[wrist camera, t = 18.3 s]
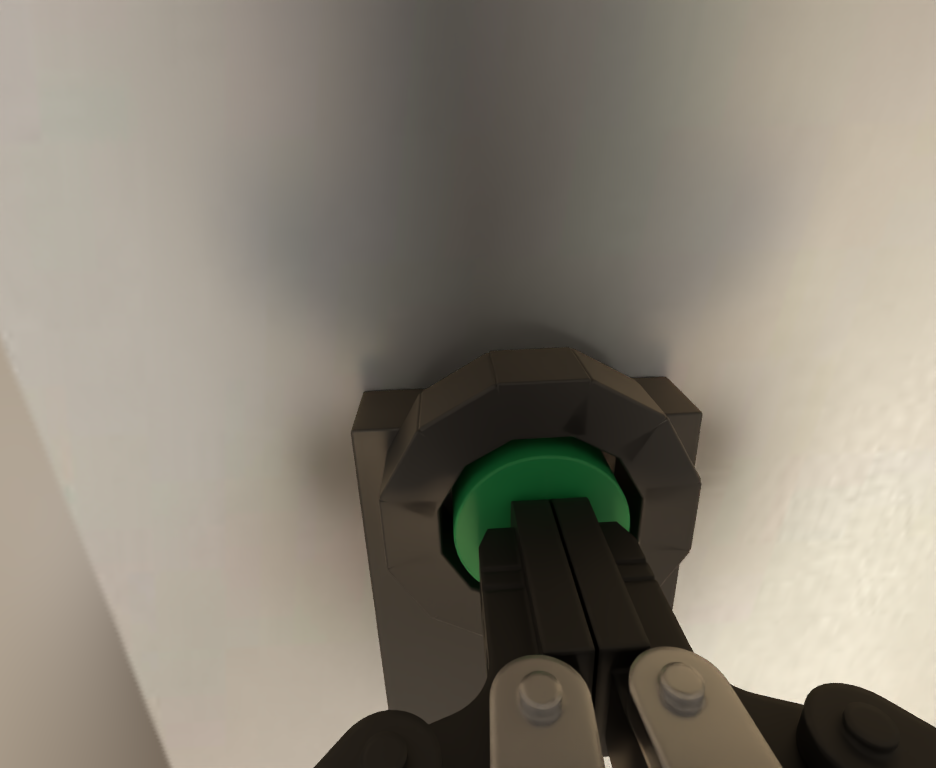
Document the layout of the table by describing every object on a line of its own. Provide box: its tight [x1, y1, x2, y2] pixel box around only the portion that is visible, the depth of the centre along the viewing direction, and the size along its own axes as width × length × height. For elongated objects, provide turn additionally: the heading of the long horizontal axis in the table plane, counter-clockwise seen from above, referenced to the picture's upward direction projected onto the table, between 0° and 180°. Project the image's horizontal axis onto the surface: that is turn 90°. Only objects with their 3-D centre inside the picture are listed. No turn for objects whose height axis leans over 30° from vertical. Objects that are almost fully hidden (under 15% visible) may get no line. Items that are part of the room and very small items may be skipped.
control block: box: [351, 347, 702, 724], centre depth 14 cm, size 14×8×4 cm, turn 2°
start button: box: [452, 437, 630, 582], centre depth 12 cm, size 4×4×2 cm
